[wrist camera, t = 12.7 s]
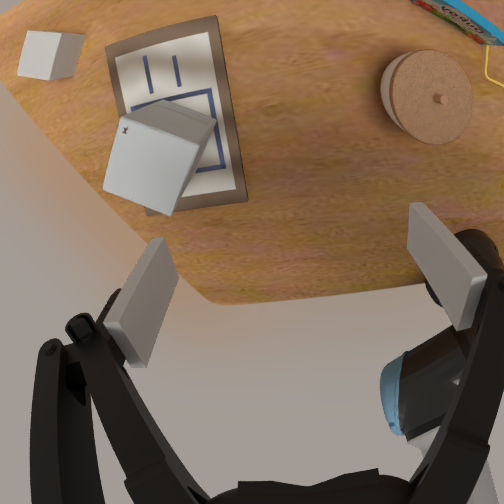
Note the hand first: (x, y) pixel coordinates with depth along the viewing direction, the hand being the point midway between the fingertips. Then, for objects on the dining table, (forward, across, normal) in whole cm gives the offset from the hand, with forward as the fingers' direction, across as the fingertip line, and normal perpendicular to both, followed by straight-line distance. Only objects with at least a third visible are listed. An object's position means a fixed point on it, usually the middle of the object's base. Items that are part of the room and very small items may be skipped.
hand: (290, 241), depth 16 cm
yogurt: (+25, -26, -16) cm, 39 cm away
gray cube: (+24, +25, -20) cm, 40 cm away
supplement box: (+23, +11, -3) cm, 26 cm away
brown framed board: (+24, +12, -5) cm, 27 cm away
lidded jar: (+25, -18, -5) cm, 31 cm away
